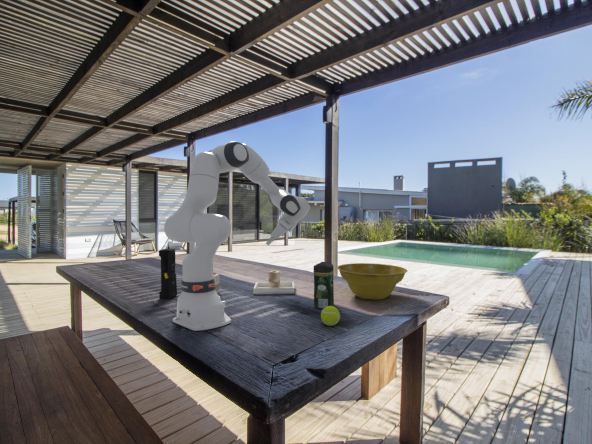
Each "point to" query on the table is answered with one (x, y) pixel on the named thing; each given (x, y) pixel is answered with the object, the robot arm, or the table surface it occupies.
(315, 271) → the coffee jar
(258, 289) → the tray
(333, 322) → the tennis ball
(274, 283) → the block
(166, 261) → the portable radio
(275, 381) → the table surface
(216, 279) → the block
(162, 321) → the table surface
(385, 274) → the planter bowl
